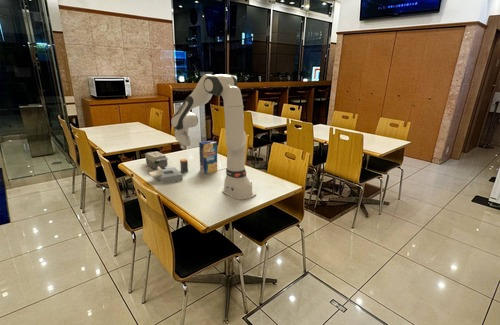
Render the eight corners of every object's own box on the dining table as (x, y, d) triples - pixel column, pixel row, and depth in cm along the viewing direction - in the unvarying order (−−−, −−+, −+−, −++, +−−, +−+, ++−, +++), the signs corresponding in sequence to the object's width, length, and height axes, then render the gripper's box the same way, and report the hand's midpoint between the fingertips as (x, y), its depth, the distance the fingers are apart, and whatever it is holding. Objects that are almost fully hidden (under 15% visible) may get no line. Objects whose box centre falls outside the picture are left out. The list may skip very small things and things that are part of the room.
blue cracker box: (217, 170, 209) (217, 142, 202) (204, 173, 202) (203, 144, 195) (212, 168, 214) (212, 140, 207) (199, 170, 208) (199, 142, 201)
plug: (187, 171, 205) (187, 160, 202) (182, 172, 203) (182, 160, 200) (185, 170, 208) (185, 158, 206) (180, 170, 206) (180, 159, 204)
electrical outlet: (156, 172, 200) (154, 159, 197) (143, 164, 222) (142, 152, 219) (171, 169, 207) (170, 156, 204) (157, 161, 229) (156, 149, 226)
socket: (182, 179, 190) (182, 174, 189) (162, 183, 183) (161, 177, 182) (174, 172, 203) (174, 167, 202) (155, 175, 195) (154, 170, 194)
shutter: (162, 174, 186) (162, 169, 185) (151, 176, 182) (151, 171, 181) (159, 171, 192) (159, 166, 190) (148, 173, 188) (148, 168, 187)
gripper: (192, 132, 190) (192, 152, 194) (181, 127, 205) (182, 145, 210) (183, 133, 186) (184, 153, 191) (173, 127, 202) (174, 146, 207)
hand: (183, 149), depth 200 cm, fingers closed
